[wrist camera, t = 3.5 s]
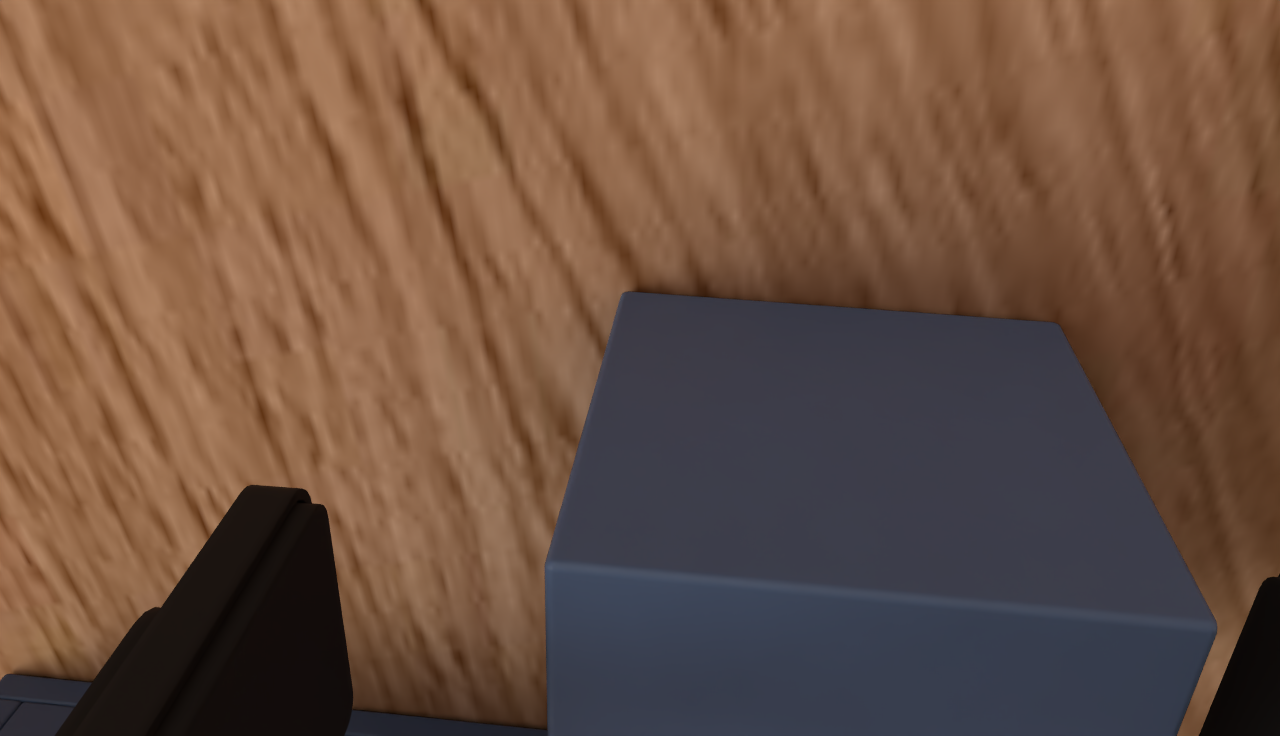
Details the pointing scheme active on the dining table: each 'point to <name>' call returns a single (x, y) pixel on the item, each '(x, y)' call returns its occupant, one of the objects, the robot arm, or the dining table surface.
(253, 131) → the dining table surface
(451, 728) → the blue bin
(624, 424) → the blue block
